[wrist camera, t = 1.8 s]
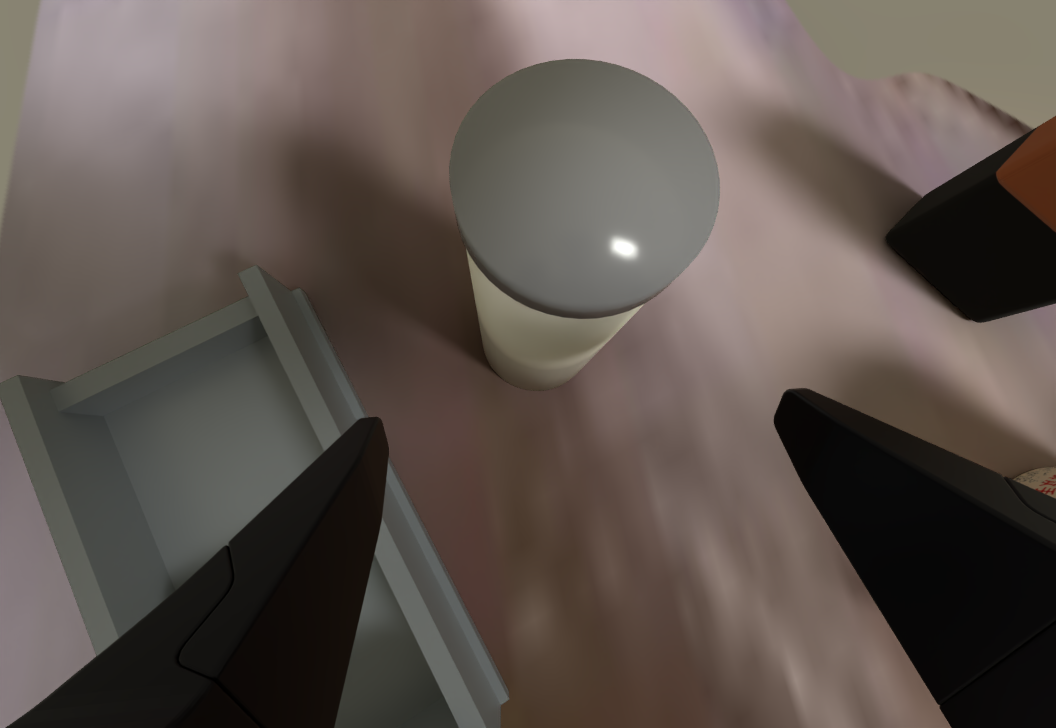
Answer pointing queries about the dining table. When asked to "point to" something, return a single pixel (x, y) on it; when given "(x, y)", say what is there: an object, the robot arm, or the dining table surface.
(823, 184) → the dining table surface
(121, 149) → the dining table surface
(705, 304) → the dining table surface
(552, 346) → the jar
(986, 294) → the battery
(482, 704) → the pusher lane
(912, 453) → the robot arm
